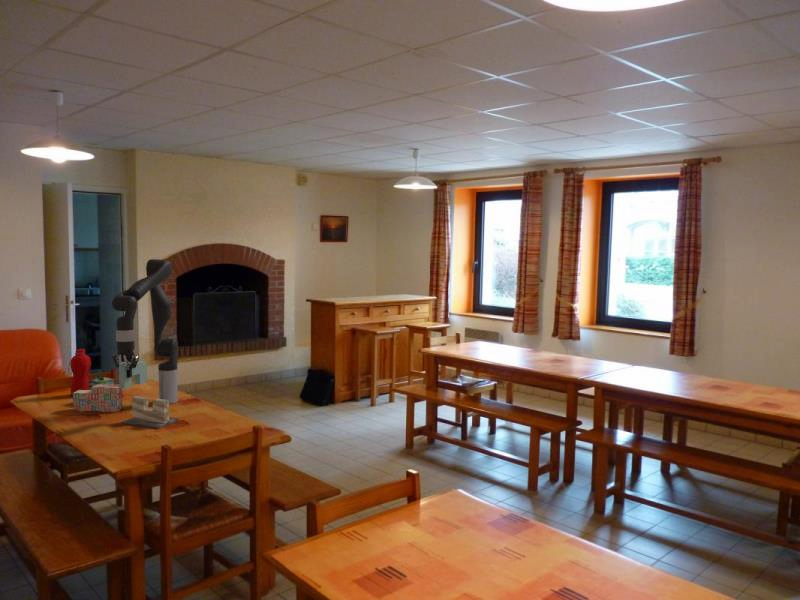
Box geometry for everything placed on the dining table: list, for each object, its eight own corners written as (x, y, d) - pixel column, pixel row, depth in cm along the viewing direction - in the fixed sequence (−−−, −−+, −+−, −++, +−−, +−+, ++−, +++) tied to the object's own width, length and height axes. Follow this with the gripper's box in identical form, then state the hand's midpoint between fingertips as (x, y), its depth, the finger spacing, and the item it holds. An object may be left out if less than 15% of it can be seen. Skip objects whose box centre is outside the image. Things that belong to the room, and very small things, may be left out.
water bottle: (72, 393, 336) (71, 347, 334) (93, 393, 337) (92, 347, 335) (65, 397, 327) (64, 350, 324) (87, 397, 328) (86, 350, 326)
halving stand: (144, 416, 295) (143, 393, 294) (178, 420, 288) (178, 397, 287) (122, 423, 282) (121, 400, 281) (158, 428, 275) (157, 404, 274)
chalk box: (115, 400, 322) (114, 372, 321) (98, 404, 314) (98, 375, 313) (105, 398, 327) (104, 370, 326) (88, 401, 319) (87, 373, 318)
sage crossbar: (142, 381, 293) (141, 361, 293) (147, 382, 292) (146, 361, 291) (119, 388, 280) (118, 366, 279) (124, 388, 279) (124, 366, 278)
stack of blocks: (72, 411, 301) (72, 386, 300) (79, 408, 307) (78, 383, 306) (117, 412, 301) (116, 387, 300) (122, 408, 307) (122, 384, 306)
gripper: (106, 339, 279) (107, 377, 281) (131, 341, 274) (132, 380, 276) (119, 337, 286) (120, 374, 288) (143, 339, 281) (144, 377, 283)
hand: (126, 377), depth 282 cm, fingers closed on sage crossbar, 3 cm apart
